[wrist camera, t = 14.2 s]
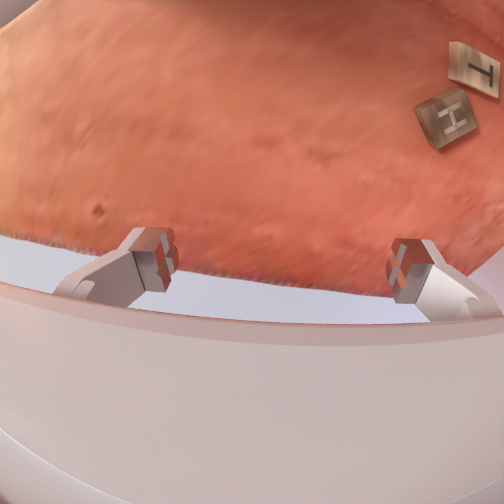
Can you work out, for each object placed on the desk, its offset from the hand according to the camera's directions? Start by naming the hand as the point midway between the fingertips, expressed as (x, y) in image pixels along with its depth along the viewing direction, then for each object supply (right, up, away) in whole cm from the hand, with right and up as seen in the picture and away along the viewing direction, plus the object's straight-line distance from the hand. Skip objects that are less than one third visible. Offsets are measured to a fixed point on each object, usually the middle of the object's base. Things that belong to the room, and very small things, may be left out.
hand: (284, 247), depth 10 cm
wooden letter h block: (+22, +17, +20) cm, 34 cm away
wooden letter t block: (+26, +26, +13) cm, 39 cm away
